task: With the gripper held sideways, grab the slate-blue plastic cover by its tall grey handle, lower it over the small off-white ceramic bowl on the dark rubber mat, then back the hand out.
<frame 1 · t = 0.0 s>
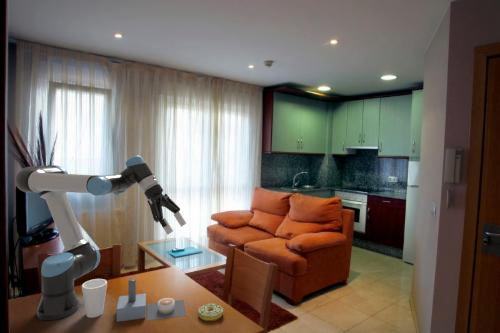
hand: (177, 228, 134), 36 cm above the table, tool tilted 35°, fingers open, 13 cm apart
cover: (132, 313, 131), on the table
foam cup: (94, 314, 131), on the table
mat: (166, 310, 135), on the table
bowl: (166, 309, 135), resting on mat
decorated donut: (210, 316, 132), on the table
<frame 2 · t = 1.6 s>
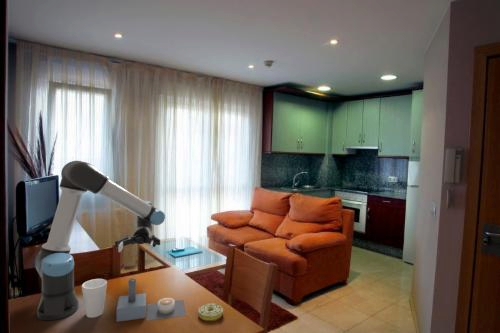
hand: (135, 248, 139), 25 cm above the table, tool horizontal, fingers open, 13 cm apart
nothing on the table moved.
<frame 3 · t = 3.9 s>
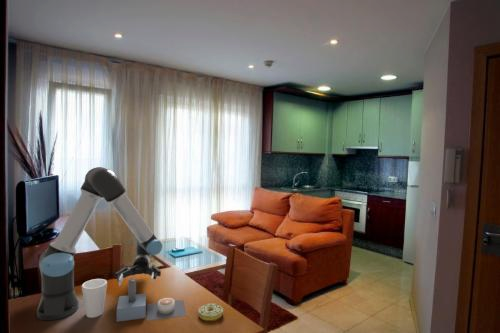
hand: (135, 281, 136), 11 cm above the table, tool horizontal, fingers open, 13 cm apart
nothing on the table moved.
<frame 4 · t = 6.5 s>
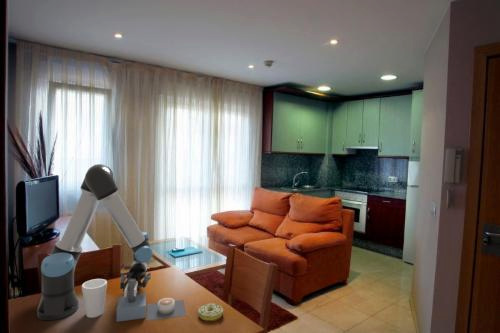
hand: (130, 293, 125), 12 cm above the table, tool horizontal, fingers closed on cover, 3 cm apart
cover: (132, 313, 131), on the table, touching gripper
everything else where it was.
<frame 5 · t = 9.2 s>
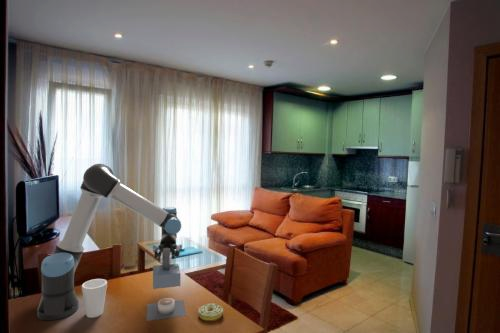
hand: (165, 260, 128), 24 cm above the table, tool horizontal, fingers closed on cover, 3 cm apart
cover: (166, 282, 134), point 13 cm above the table, touching gripper
everything else where it was.
when the fingers open (13 cm above the table, at t = 11.9 s): cover drops 2 cm, resting on mat.
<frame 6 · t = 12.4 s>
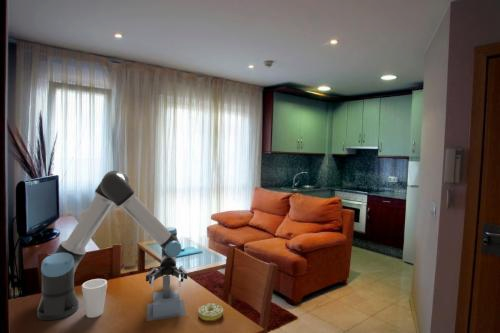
hand: (166, 284, 130), 13 cm above the table, tool horizontal, fingers open, 10 cm apart
cover: (166, 309, 135), resting on mat
everything else where it was.
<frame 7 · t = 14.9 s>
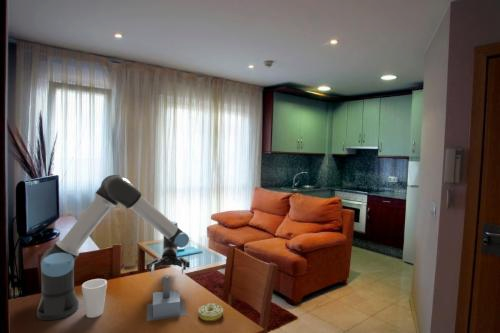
hand: (167, 272, 143), 13 cm above the table, tool horizontal, fingers open, 13 cm apart
nothing on the table moved.
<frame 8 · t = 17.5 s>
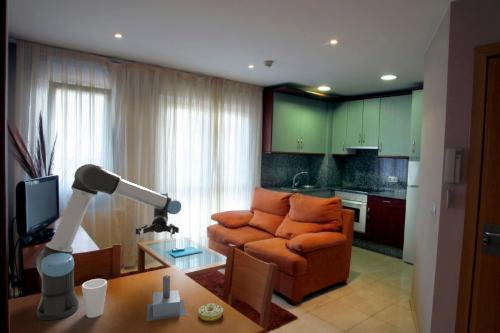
hand: (156, 235, 144), 30 cm above the table, tool horizontal, fingers open, 13 cm apart
nothing on the table moved.
at the end: cover 0.0 cm off-centre on the bowl, point 0.0 cm above the bowl's base; cover tilted 0°; the gripper is holding nothing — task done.
